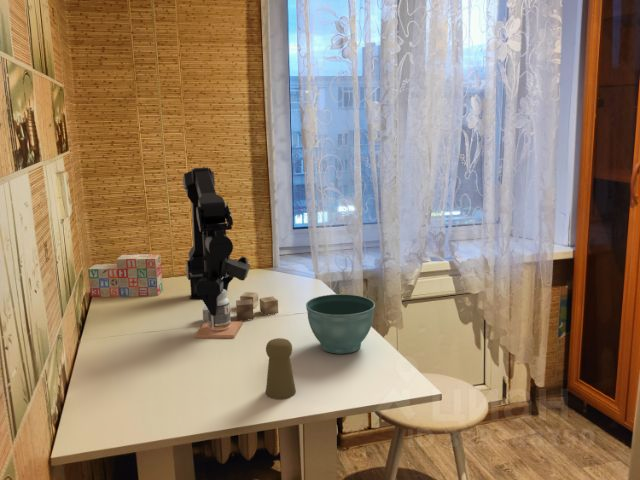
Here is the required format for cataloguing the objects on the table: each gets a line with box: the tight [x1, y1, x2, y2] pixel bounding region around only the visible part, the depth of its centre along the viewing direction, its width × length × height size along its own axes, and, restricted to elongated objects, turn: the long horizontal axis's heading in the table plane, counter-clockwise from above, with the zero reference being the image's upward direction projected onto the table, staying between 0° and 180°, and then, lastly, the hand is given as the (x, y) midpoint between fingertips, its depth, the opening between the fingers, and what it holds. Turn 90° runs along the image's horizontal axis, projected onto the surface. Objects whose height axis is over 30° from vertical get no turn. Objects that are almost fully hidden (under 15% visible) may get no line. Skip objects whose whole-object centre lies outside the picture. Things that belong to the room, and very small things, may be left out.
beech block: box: [239, 291, 260, 310], centre depth 171 cm, size 4×4×4 cm
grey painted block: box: [202, 305, 208, 325], centre depth 160 cm, size 4×4×4 cm
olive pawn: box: [265, 337, 297, 400], centre depth 117 cm, size 6×6×11 cm
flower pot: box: [305, 293, 376, 355], centre depth 139 cm, size 16×16×11 cm
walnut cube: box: [235, 299, 255, 322], centre depth 162 cm, size 4×4×4 cm
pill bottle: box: [207, 289, 231, 331], centre depth 152 cm, size 6×6×10 cm
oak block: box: [259, 296, 279, 316], centre depth 166 cm, size 4×4×4 cm
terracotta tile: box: [194, 320, 243, 339], centre depth 153 cm, size 10×10×1 cm
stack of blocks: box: [87, 253, 164, 298], centre depth 187 cm, size 21×6×12 cm, turn 90°
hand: (218, 309), depth 152 cm, fingers open, 9 cm apart
